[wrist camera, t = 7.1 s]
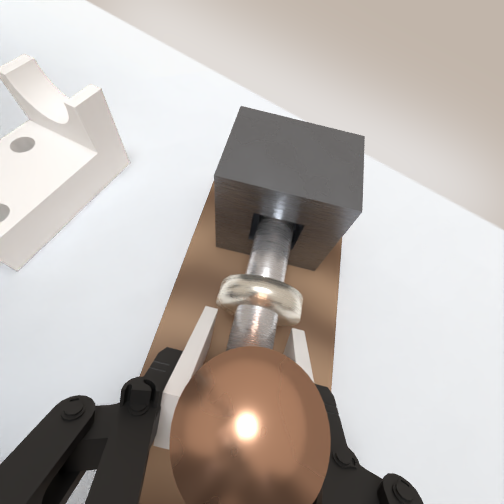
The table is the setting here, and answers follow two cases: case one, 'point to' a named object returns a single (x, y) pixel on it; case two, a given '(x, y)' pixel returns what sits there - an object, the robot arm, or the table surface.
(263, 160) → the bearing block
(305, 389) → the shaft
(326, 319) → the walnut board
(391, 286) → the table surface
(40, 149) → the bracket
